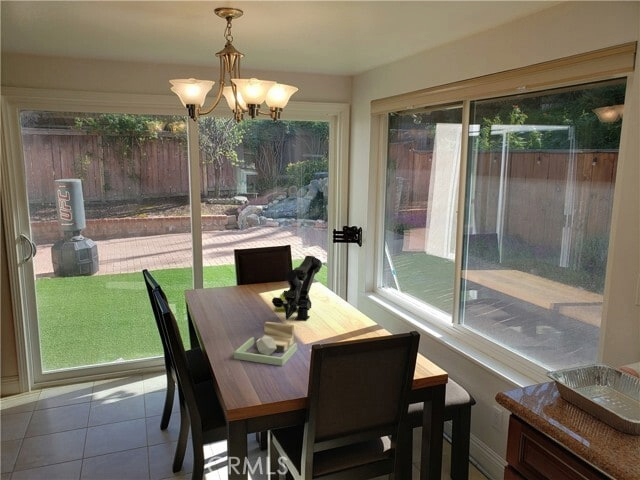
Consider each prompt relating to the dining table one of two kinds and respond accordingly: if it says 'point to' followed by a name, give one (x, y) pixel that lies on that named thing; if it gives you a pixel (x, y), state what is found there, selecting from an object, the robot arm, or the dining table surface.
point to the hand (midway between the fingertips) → (286, 319)
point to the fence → (243, 355)
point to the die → (266, 345)
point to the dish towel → (281, 309)
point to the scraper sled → (279, 335)
